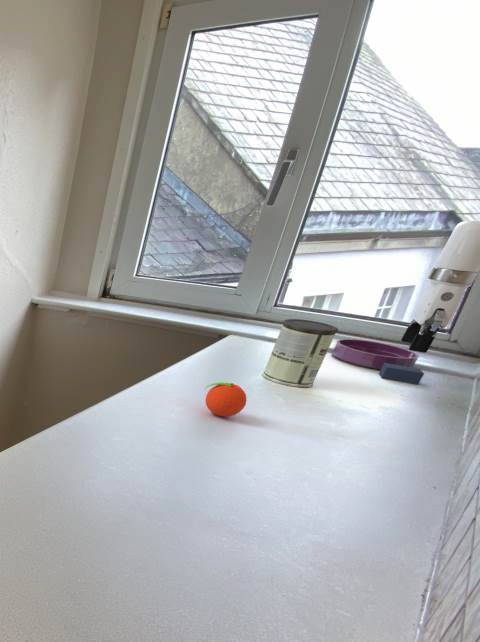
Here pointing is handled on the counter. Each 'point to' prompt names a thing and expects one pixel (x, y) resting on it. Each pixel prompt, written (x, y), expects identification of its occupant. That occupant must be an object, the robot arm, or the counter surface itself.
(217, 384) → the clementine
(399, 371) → the eraser
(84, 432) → the counter surface
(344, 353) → the bowl
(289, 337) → the coffee can
